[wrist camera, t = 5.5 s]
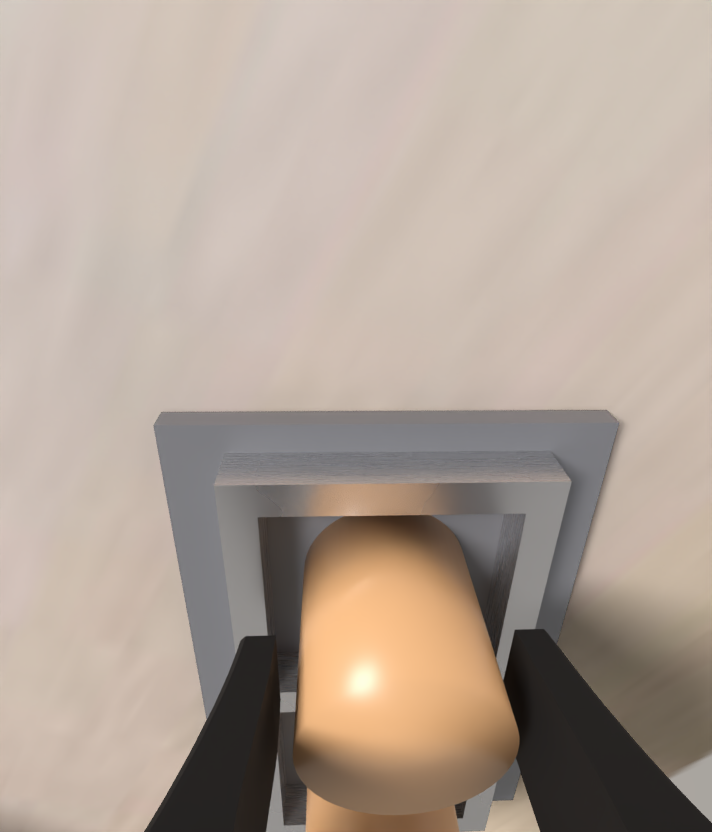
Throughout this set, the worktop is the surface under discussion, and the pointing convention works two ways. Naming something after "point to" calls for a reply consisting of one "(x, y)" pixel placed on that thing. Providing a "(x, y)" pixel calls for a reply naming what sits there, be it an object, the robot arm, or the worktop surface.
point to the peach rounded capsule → (396, 671)
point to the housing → (373, 496)
